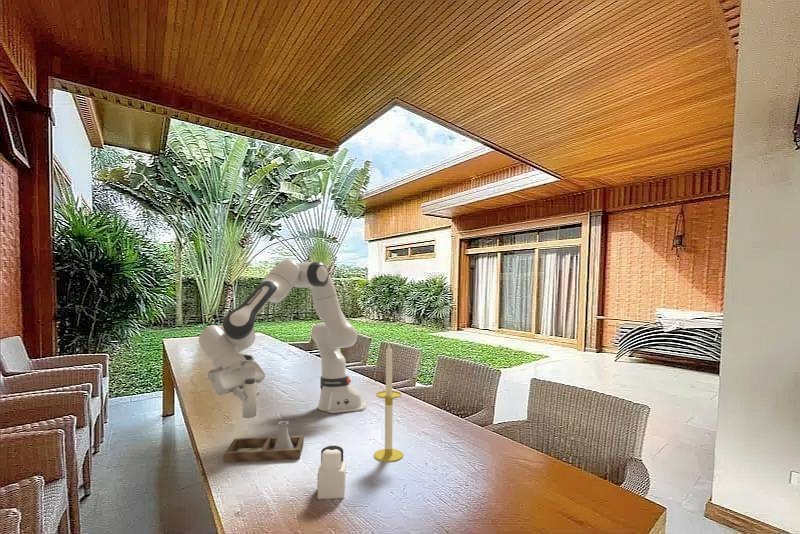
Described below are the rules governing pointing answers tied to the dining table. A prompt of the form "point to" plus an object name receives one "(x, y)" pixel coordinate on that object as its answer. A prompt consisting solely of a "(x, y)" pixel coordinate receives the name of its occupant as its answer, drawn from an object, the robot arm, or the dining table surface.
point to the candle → (388, 415)
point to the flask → (283, 437)
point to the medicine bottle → (331, 473)
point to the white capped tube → (249, 398)
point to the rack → (261, 450)
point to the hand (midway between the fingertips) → (251, 397)
